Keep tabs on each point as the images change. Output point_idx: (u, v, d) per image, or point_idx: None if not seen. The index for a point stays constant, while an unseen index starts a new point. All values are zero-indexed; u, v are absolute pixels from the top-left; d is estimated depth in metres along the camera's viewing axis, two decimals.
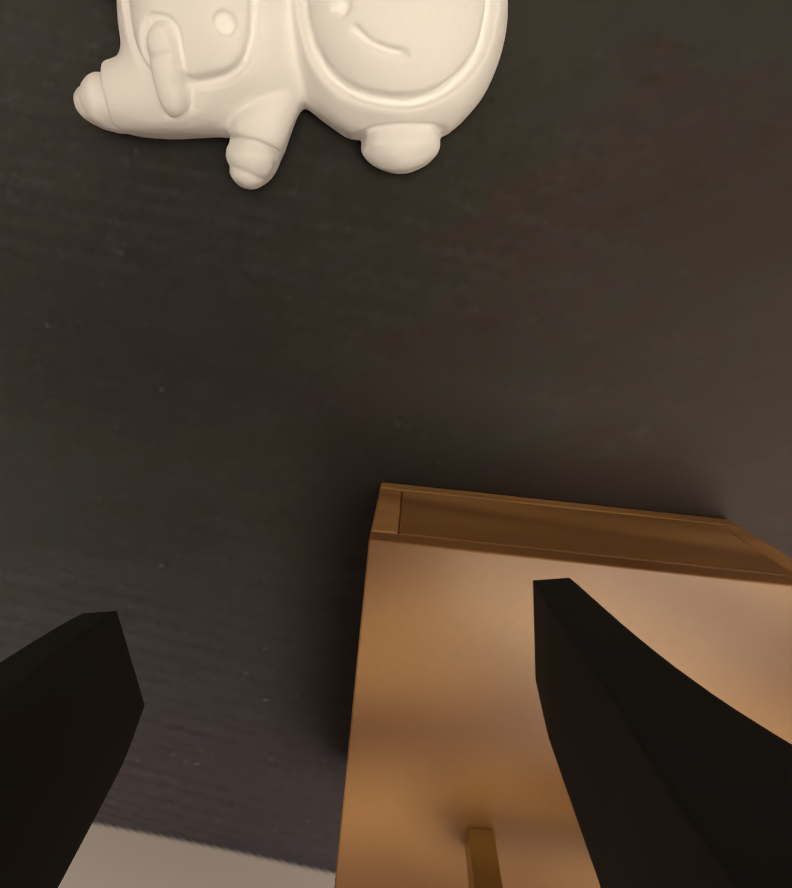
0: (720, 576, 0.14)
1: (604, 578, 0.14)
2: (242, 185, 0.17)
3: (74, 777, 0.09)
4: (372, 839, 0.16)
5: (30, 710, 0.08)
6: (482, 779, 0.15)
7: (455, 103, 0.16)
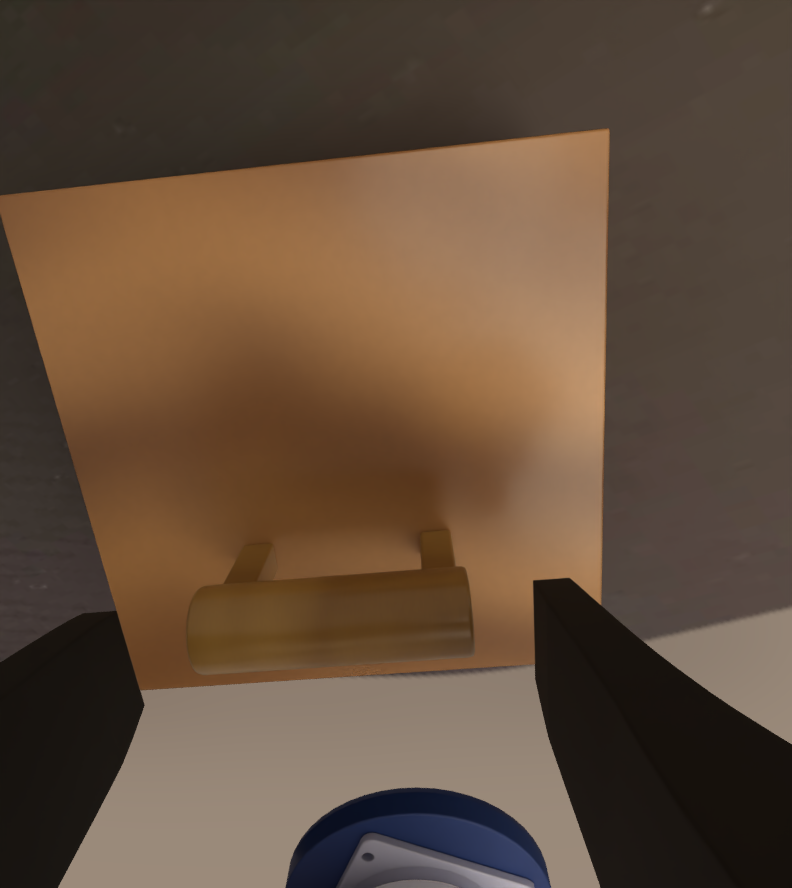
0: (443, 146, 0.11)
1: (297, 182, 0.11)
2: None
3: (74, 777, 0.09)
4: (144, 581, 0.14)
5: (30, 710, 0.08)
6: (240, 484, 0.13)
7: None
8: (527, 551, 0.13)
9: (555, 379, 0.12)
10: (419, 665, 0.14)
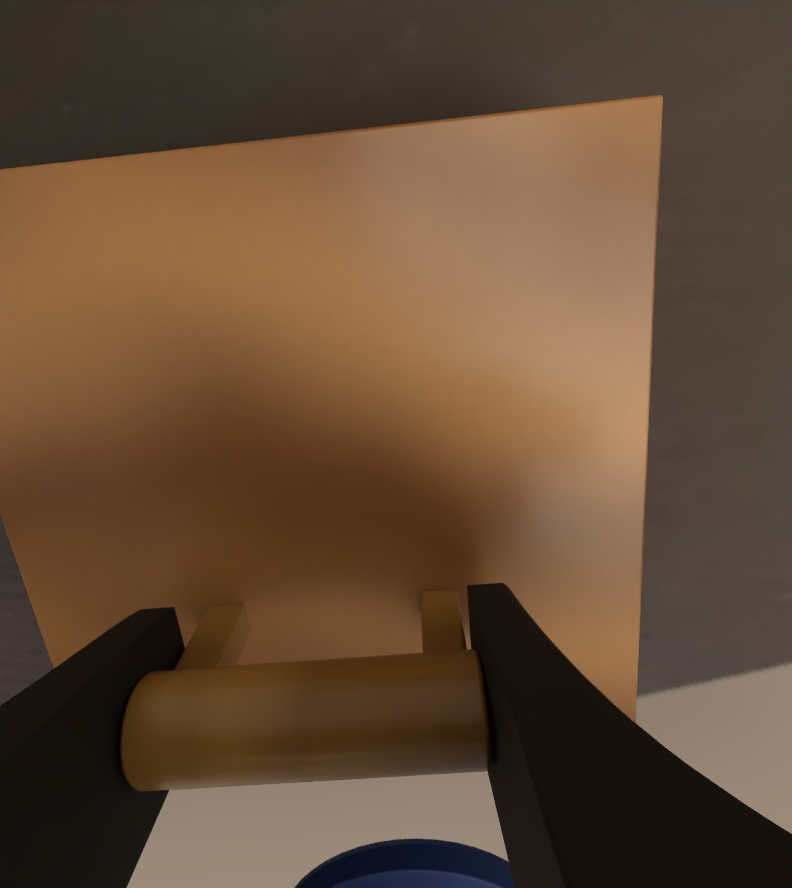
0: None
1: (264, 165, 0.09)
2: None
3: None
4: None
5: (103, 705, 0.08)
6: (201, 534, 0.11)
7: None
8: (550, 613, 0.11)
9: (587, 410, 0.10)
10: None
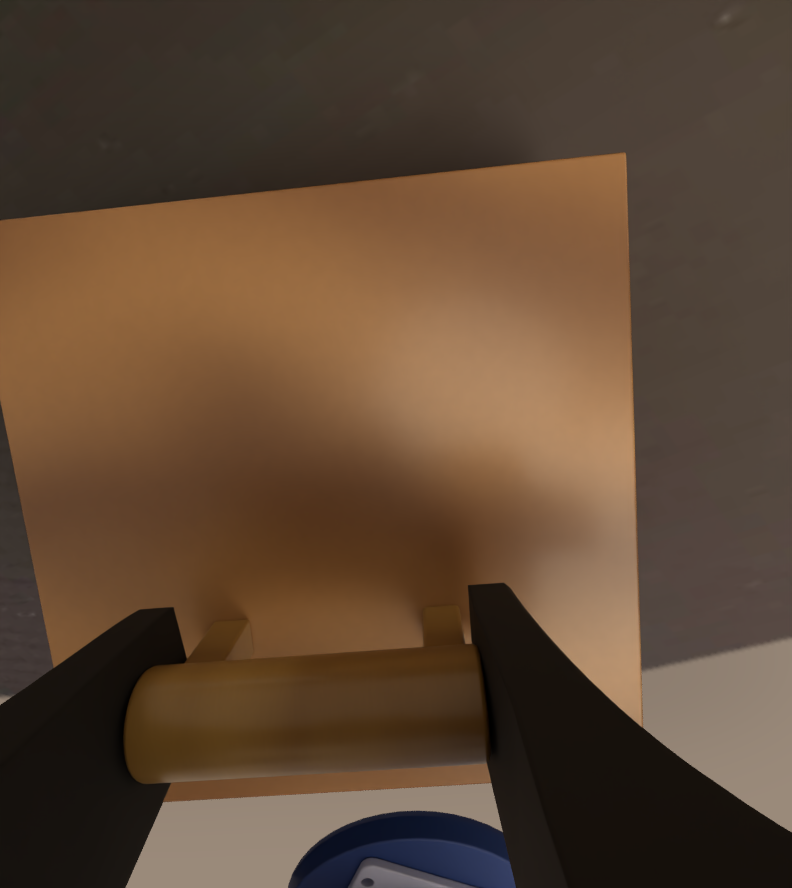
0: None
1: (288, 209, 0.10)
2: None
3: None
4: None
5: (102, 705, 0.08)
6: (213, 546, 0.11)
7: None
8: (550, 632, 0.11)
9: (577, 425, 0.10)
10: (422, 779, 0.12)
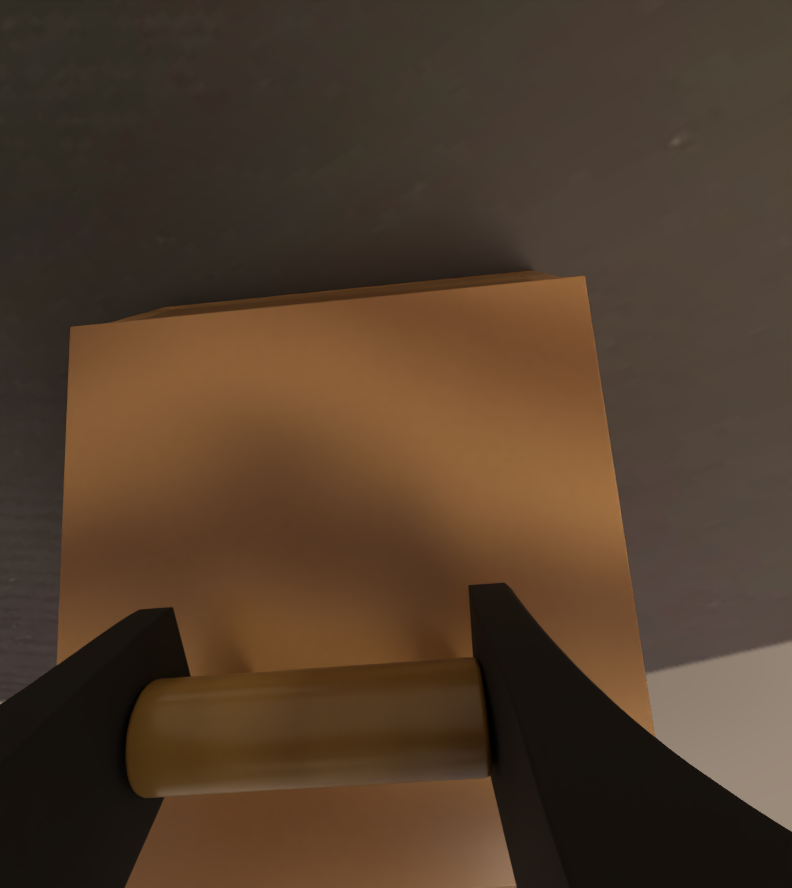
0: (446, 289, 0.13)
1: (322, 315, 0.13)
2: None
3: None
4: None
5: (101, 705, 0.08)
6: (229, 599, 0.12)
7: None
8: None
9: (565, 486, 0.12)
10: (427, 879, 0.11)
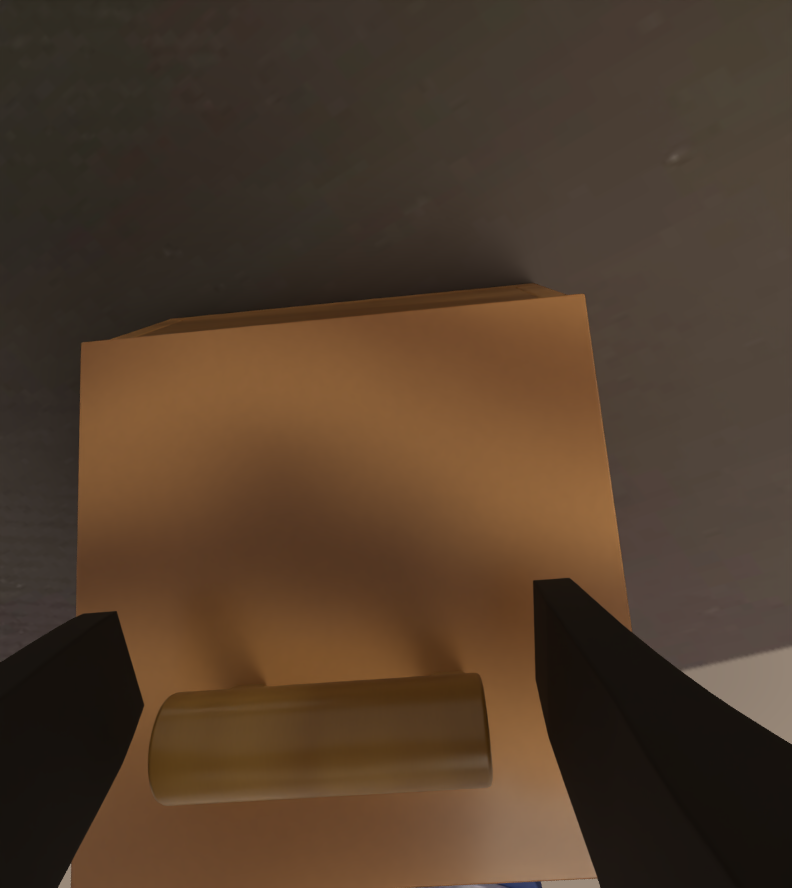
0: None
1: (328, 332, 0.13)
2: None
3: (74, 777, 0.09)
4: None
5: (30, 710, 0.08)
6: (240, 609, 0.12)
7: None
8: None
9: (564, 501, 0.12)
10: (430, 875, 0.11)
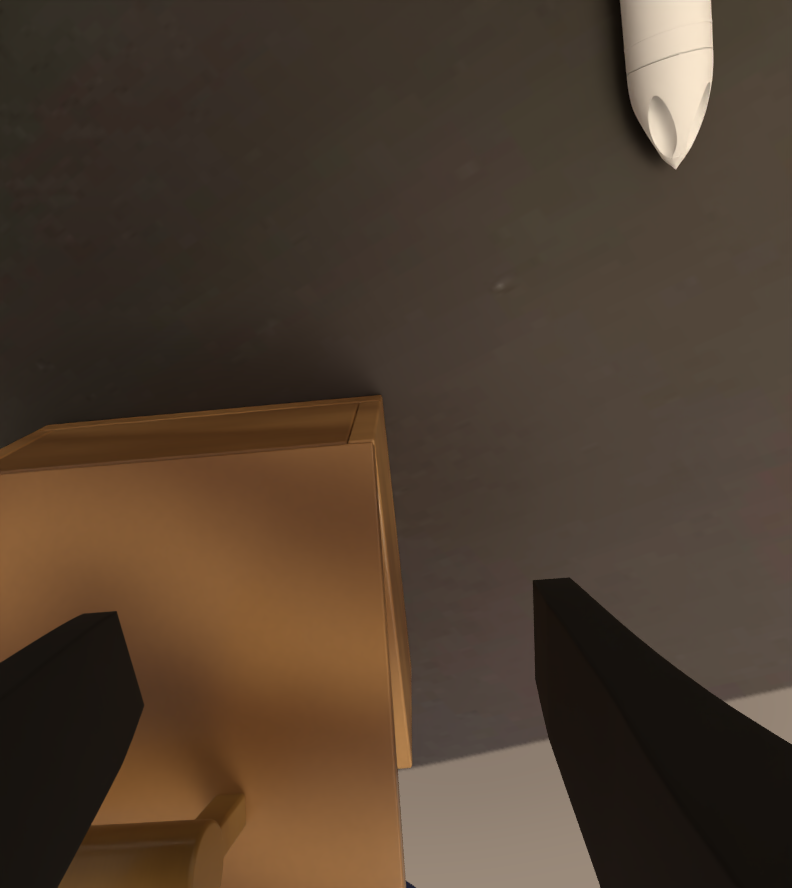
0: None
1: (143, 474, 0.15)
2: None
3: (74, 777, 0.09)
4: None
5: (30, 710, 0.08)
6: None
7: None
8: (322, 823, 0.13)
9: (342, 636, 0.14)
10: None
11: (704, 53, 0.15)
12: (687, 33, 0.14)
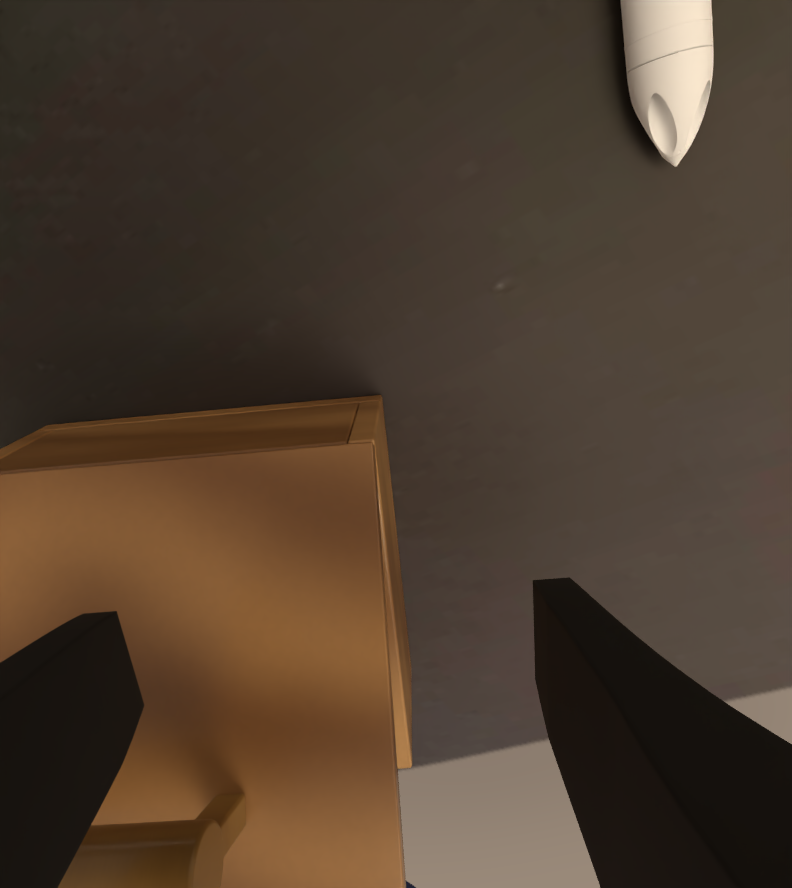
0: None
1: (143, 474, 0.15)
2: None
3: (74, 777, 0.09)
4: None
5: (30, 710, 0.08)
6: None
7: None
8: (322, 823, 0.13)
9: (342, 636, 0.14)
10: None
11: (704, 51, 0.15)
12: (687, 30, 0.14)
